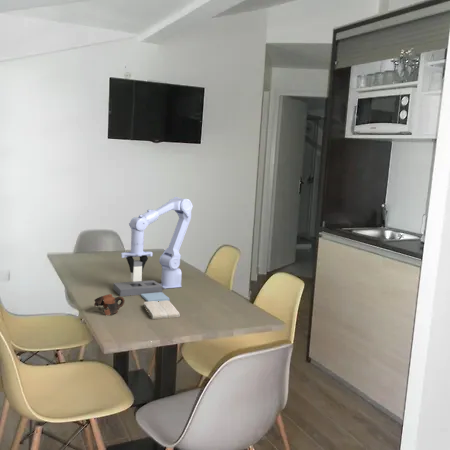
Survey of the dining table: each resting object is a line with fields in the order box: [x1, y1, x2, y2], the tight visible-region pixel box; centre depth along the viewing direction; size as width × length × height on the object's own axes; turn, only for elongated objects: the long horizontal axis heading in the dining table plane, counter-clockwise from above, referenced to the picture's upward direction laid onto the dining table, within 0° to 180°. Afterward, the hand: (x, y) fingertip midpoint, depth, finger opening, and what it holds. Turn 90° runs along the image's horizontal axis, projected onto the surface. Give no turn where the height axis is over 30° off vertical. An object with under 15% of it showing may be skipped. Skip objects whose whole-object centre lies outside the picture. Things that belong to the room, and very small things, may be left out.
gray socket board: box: [112, 280, 164, 297], centre depth 232 cm, size 20×12×3 cm, turn 118°
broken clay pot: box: [94, 293, 125, 316], centre depth 201 cm, size 12×10×8 cm
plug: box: [130, 259, 143, 282], centre depth 230 cm, size 4×4×9 cm
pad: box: [140, 291, 171, 302], centre depth 222 cm, size 10×10×1 cm
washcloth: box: [143, 300, 181, 320], centre depth 205 cm, size 12×18×3 cm, turn 23°
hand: (136, 271), depth 230 cm, fingers closed on plug, 4 cm apart
